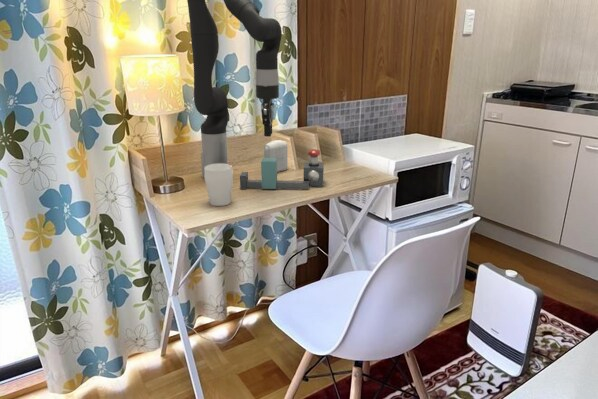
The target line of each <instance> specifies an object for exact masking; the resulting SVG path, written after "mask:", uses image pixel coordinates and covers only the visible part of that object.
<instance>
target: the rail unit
mask: <svg viewBox="0 0 598 399" xmlns="http://www.w3.org/2000/svg"><path fill="white" fill-rule="evenodd" d="M324 164H325V162H324V161H318V166H310V161H304V164H303V180H283V179H282V180H281V179H280V180H278V179H277V181H276V189H275V190H293V191H294V190H296V191H297V189H298V191H300V190H299V189H309V190H310V187H309V186H316V187H315V188H323V187H324V176H325V175H324V171H325V170H324V168H325V166H324ZM239 188H240V191H241V190H244V191H245V190H246V191H247V189H251V190H252V189H253V190H255V189H256V190H258V189H260V190H263V189H262V179H249V172H248V171H242V172H241V173H240V174H239Z"/></svg>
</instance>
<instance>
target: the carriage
mask: <svg viewBox="0 0 598 399" xmlns="http://www.w3.org/2000/svg"><path fill="white" fill-rule="evenodd" d="M260 168H261V169H260V173H261V174H260V175H261V177H260V178H261V179H260V180H262V189H261V190H277V189H276V181H277V180H278V172H277V158H264V157H262V159H261V160H260Z"/></svg>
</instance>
